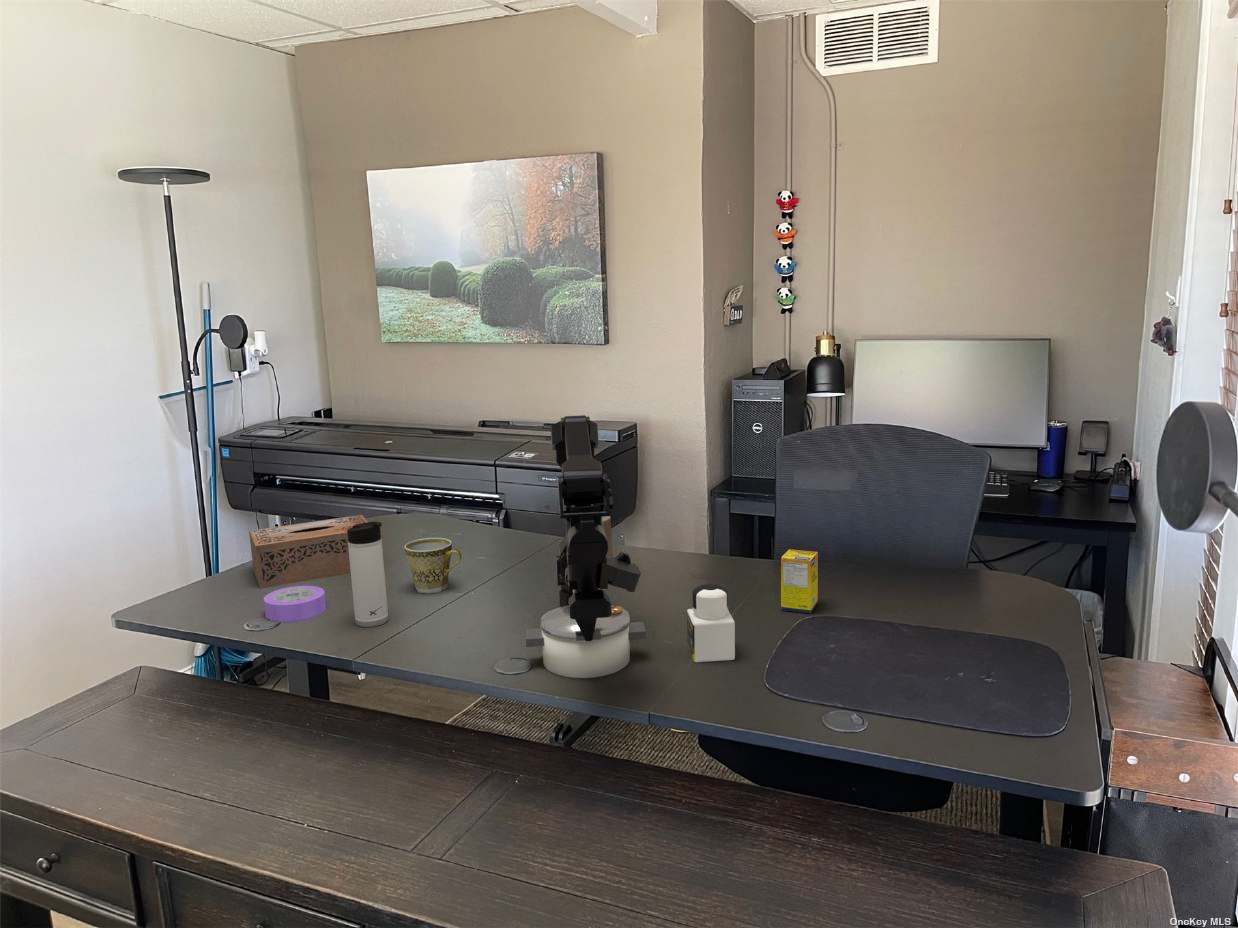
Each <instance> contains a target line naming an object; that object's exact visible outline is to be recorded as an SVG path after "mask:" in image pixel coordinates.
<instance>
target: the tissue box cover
mask: <svg viewBox="0 0 1238 928" xmlns="http://www.w3.org/2000/svg"><path fill="white" fill-rule="evenodd" d="M367 522H369V521H368V520H367V519H366V518H365V517H364V515H363V514H358V515H351V516H345V517H337V518H331V519H322V520H315V521H310V522H309V521H308V522H302V523H294V524H287V525H281V526H280V525H279V526H272V527H267V528H260V529H252V530H249V531H248V533H249V542H250V543H249V544H250V550H251V560H252V567H253V568H252V569H253V573H254V576H255V578H256V581H257V583H258V586H259V588H260V589H265V588H271V587H278V586H284V585H288V584H289V585H290V584H293V583H294V584H296V583H300V582H307V581H313V580H319V579H322V578H323V579H325V578H330V577H336V576H342V575H349V574H351V570H350V559H349V548H348V545H349V544H348V535H347V529H350V528H352V526H354V525H357V524H361V523H367Z"/></svg>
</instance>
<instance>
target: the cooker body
mask: <svg viewBox="0 0 1238 928" xmlns="http://www.w3.org/2000/svg"><path fill="white" fill-rule="evenodd" d="M645 627H646V626H645V624H644V622H643V621H635V622H630V624H629V626H628V627H627V628H626V629H625V630H623V631H621V632H619V633H616V634H613V635H610V636H606V637H601V639H599V640H592V641H585V640H584V641H576V639H566V638H559V637H555V636H552V635H549V634H547V633H545V632H544V631H543V630H542V628H541V627H540V628H527V629H525V646H526V648H532V647H541V648H542V661H543V662H542V663H543V666H544V667H545V669H546V670H547V671H549V672H551V673H553V674H555V675H558V676H561V677H565V678H573V679H590V678H599V677H604V676H609V675H611V674H615V673H617V672H619V671H621V670H622V669H624V668H626V666H628V665H629V663H630V660H631V654H630V650H631V649H630V645H631V644H630V641H637V640H646V639H647V630H646V628H645Z"/></svg>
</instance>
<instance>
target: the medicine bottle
mask: <svg viewBox="0 0 1238 928" xmlns="http://www.w3.org/2000/svg"><path fill="white" fill-rule="evenodd" d="M728 594H729V592H728V590H727V588H725V587H723V586H721V585H718V584H714V583H713V584H712V583H711V584H710V583H708V584H701V585H699V586H696V587H695V588H693V590H692V608H687V610H686V630H687V631H686V633H687V635H686V636H687V642H686V643H687V648H688V650H689V653H690V655H691V657H692V660H693V663H707V662H721V661H722V662H724V661H733V660H735V658H736V648H735V647H736V641H735V640H736V636H735V635H736V633H735V632H736V629H735V628H736V626H735V625H736V624H735V623H736V622H735V620H734V618H733V616H732V615H731V613H730V611H729V597H728V596H729V595H728Z"/></svg>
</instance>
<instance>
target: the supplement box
mask: <svg viewBox="0 0 1238 928" xmlns="http://www.w3.org/2000/svg"><path fill="white" fill-rule="evenodd" d="M818 554H819V552H818V551H810V550H801V549H800V550H799V549H798V550H797V549H788V550H787V551H786V552H785V553H784V554H783V555H782V556H781V558H780V602H781V603H780V608H781V611H783V612H794V613H803V614H809V615H810V614H812V613H813V611H814V609H815V608H816V606H817V605H818V591H819V589H818V586H819V585H818V583H819V579H818V577H819V575H818V571H819V570H818V567H819V566H818V565H819V563H818V562H819V558H818V557H819V555H818Z"/></svg>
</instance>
